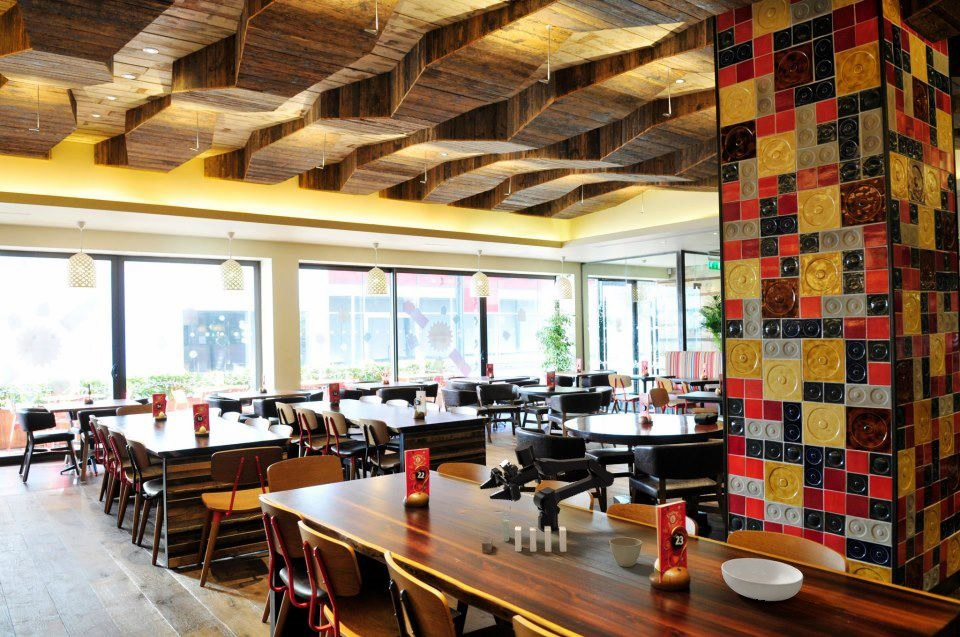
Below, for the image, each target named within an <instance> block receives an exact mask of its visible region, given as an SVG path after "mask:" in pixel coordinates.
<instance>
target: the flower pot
mask: <svg viewBox="0 0 960 637" xmlns="http://www.w3.org/2000/svg"><path fill="white" fill-rule="evenodd" d="M608 543H609V547H610V551H611V553H612V557H613V558H614V560H615V562H616V564H618V566H620V567H623V568H624V567H626V568H629V567H633V566H635V564H636V563H637V561H638V559H639V556H640V553H641V550H642V546H643V543H642V540H640V539H637V538H635V537H627V536H626V537H625V536H618V537H614V538H613V537H612V538H611V539H609V542H608Z"/></svg>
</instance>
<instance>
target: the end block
mask: <svg viewBox="0 0 960 637" xmlns="http://www.w3.org/2000/svg"><path fill="white" fill-rule="evenodd" d="M481 542H482V543H481V552H482V553H492V550H493V536H482V541H481Z"/></svg>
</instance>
